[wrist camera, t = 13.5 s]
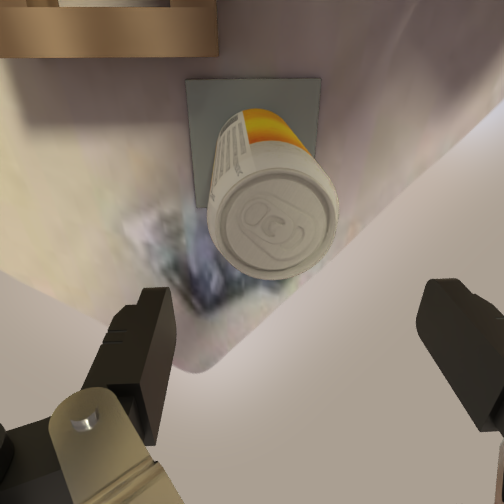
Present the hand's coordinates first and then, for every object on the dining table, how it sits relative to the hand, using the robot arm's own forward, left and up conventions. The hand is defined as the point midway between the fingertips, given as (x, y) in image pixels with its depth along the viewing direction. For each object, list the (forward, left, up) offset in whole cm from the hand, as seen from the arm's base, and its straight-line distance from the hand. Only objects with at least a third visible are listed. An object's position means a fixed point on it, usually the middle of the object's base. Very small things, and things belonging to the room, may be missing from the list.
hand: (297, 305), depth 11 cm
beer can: (0, 0, -20) cm, 20 cm away
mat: (0, 0, -21) cm, 21 cm away
